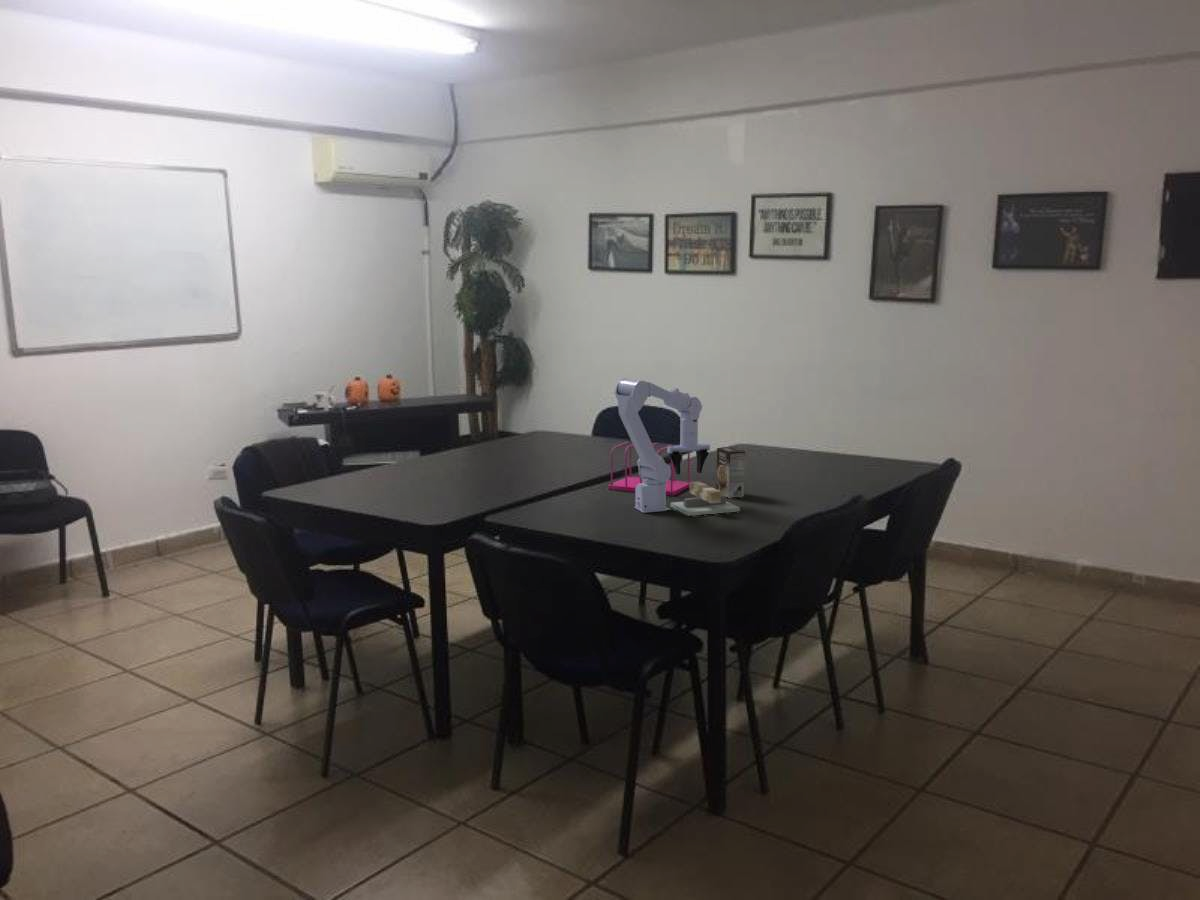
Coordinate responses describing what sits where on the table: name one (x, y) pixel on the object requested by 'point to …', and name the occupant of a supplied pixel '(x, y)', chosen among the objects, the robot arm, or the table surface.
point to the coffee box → (730, 471)
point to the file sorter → (631, 482)
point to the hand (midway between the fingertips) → (688, 473)
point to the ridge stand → (703, 506)
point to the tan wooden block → (705, 492)
